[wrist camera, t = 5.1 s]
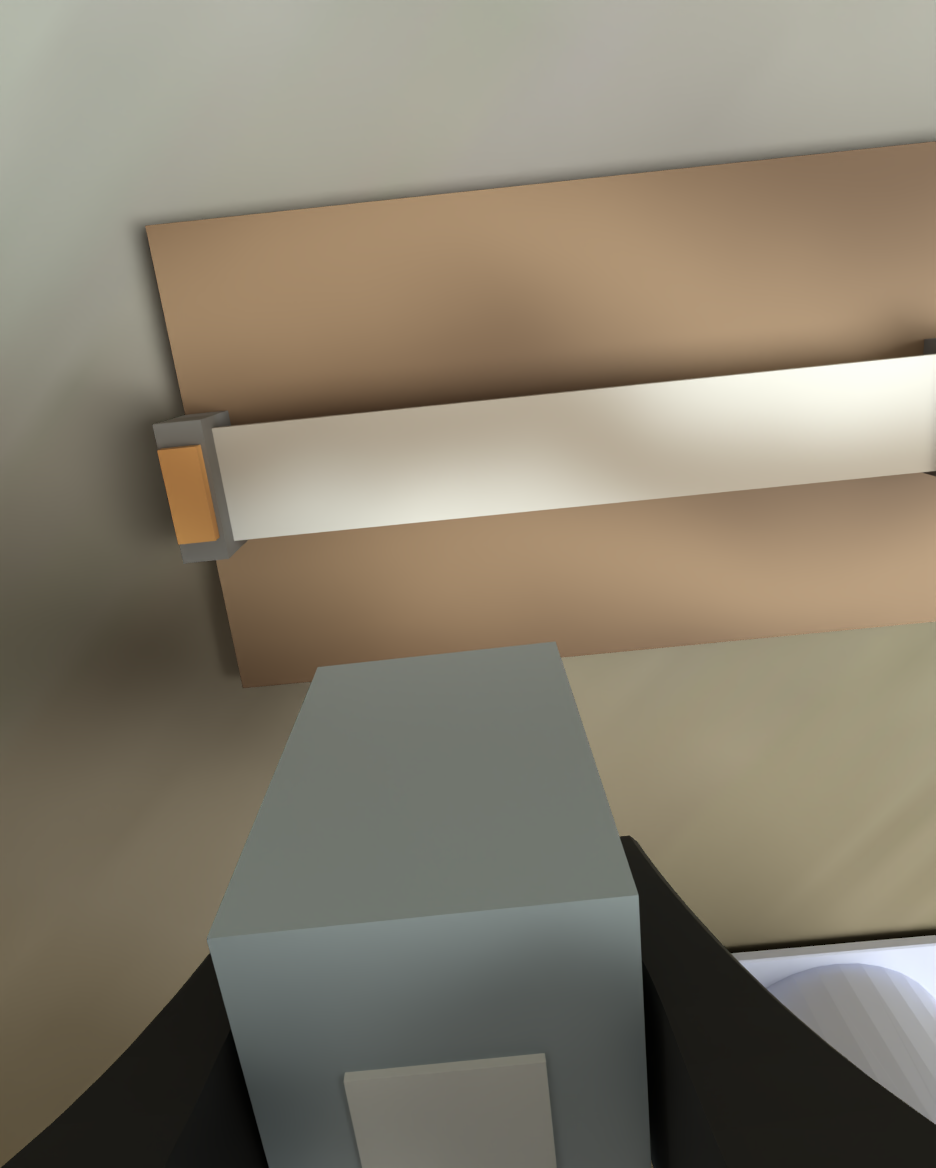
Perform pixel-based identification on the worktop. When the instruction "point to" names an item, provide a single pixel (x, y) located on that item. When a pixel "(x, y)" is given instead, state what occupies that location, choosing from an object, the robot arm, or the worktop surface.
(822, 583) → the rail mount
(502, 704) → the block
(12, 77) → the worktop surface
